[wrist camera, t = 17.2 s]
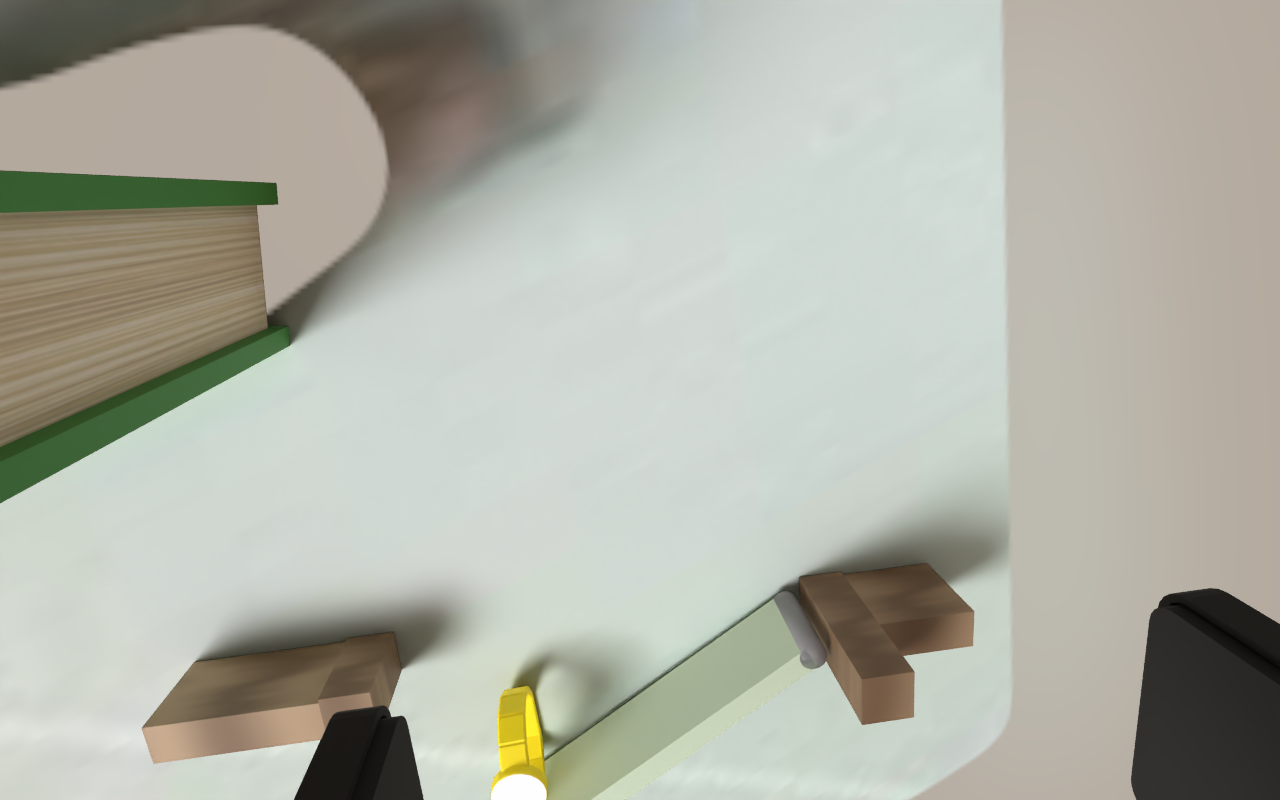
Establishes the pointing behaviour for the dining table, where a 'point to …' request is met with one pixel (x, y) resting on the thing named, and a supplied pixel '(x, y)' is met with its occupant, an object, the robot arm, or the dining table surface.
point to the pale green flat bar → (689, 705)
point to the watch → (519, 749)
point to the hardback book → (120, 307)
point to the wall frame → (370, 667)
